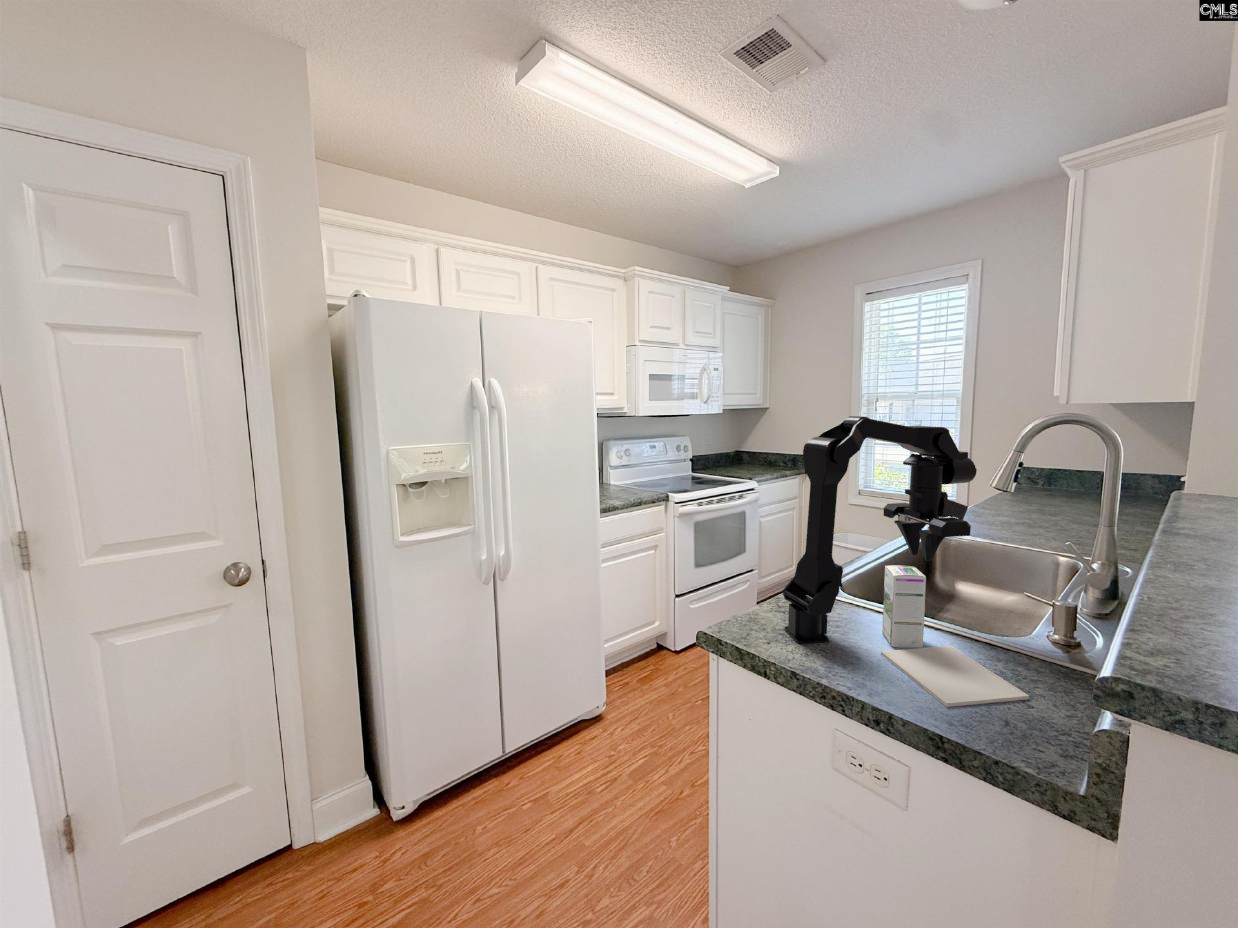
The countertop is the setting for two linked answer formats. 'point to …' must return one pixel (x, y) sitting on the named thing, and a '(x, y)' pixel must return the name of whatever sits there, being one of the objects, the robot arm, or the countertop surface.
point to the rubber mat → (953, 676)
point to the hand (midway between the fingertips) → (921, 557)
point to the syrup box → (904, 606)
